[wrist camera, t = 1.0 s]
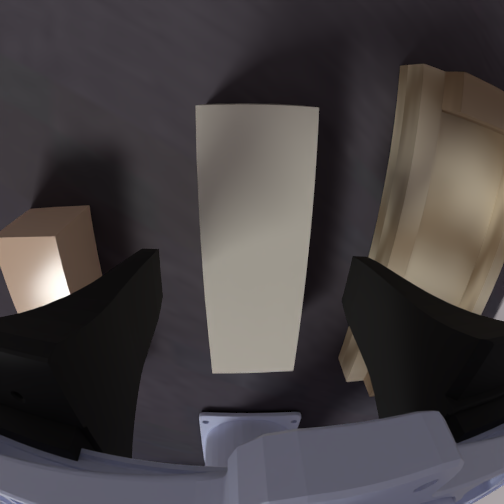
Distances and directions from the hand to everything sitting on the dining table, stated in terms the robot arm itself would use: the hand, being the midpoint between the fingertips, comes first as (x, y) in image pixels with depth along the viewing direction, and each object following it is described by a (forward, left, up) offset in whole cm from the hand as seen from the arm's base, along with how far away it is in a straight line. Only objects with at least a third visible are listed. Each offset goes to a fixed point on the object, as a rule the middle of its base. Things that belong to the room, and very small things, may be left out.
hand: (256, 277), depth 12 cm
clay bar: (0, 0, -5) cm, 5 cm away
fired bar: (-5, +10, -5) cm, 12 cm away
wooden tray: (0, -11, -4) cm, 12 cm away
